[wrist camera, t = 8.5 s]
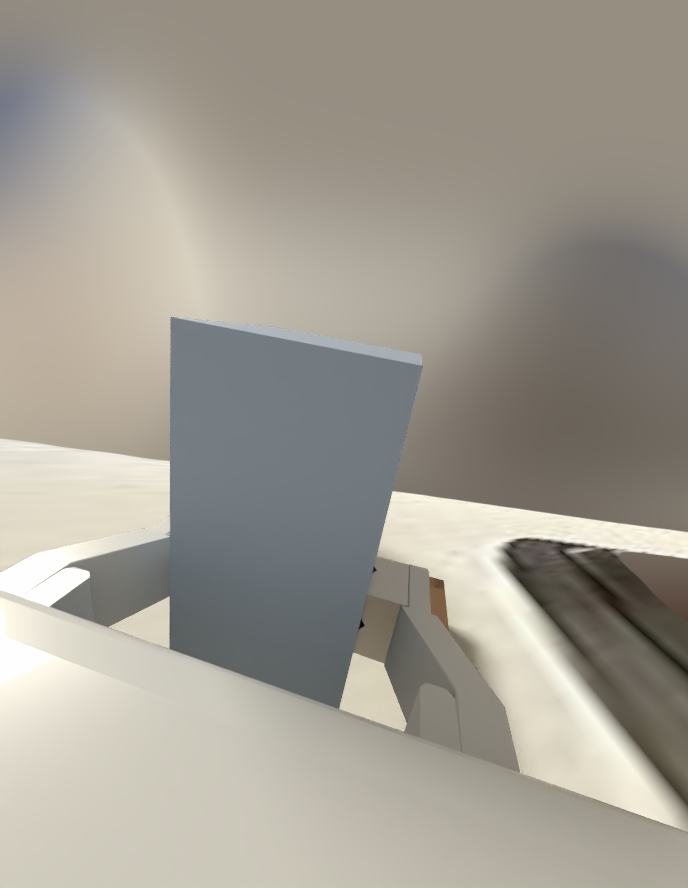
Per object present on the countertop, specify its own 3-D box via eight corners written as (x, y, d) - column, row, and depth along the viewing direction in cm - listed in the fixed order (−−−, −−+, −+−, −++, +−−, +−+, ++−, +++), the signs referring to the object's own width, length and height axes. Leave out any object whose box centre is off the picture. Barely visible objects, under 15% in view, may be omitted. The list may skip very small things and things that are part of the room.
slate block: (168, 819, 10) (170, 316, 5) (237, 688, 14) (273, 326, 9) (297, 876, 9) (423, 366, 5) (332, 722, 13) (421, 354, 8)
